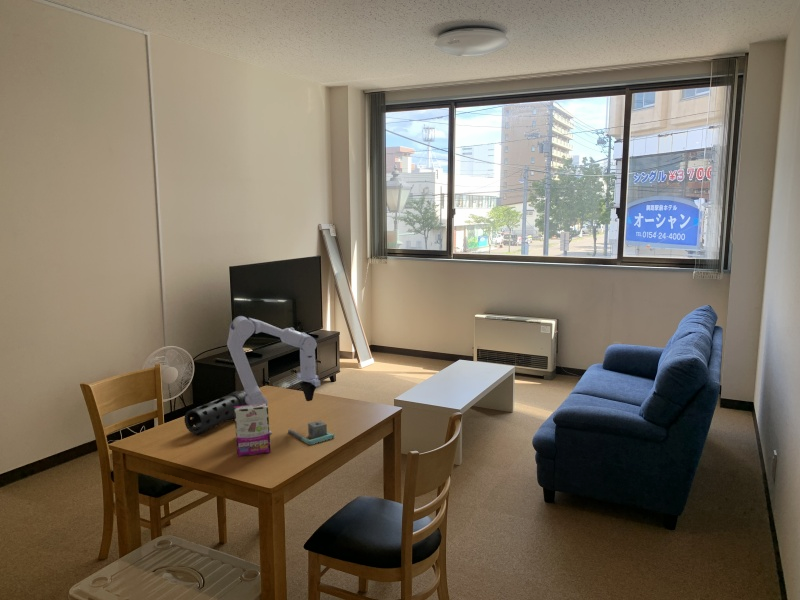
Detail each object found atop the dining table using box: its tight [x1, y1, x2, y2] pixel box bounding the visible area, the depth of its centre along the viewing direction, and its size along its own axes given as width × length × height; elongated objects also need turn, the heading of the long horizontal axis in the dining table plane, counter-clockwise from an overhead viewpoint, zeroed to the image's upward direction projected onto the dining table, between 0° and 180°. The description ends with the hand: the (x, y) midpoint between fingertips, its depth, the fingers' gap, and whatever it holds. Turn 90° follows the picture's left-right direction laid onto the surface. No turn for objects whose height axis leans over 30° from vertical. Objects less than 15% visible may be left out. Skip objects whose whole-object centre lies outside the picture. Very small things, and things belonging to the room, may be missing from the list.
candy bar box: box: [234, 403, 271, 458], centre depth 203 cm, size 11×5×16 cm, turn 106°
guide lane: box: [287, 429, 335, 446], centre depth 219 cm, size 10×16×2 cm, turn 38°
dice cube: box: [307, 420, 328, 439], centre depth 217 cm, size 5×5×5 cm
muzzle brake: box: [184, 390, 248, 436], centre depth 232 cm, size 10×28×10 cm, turn 154°
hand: (309, 400), depth 230 cm, fingers closed
